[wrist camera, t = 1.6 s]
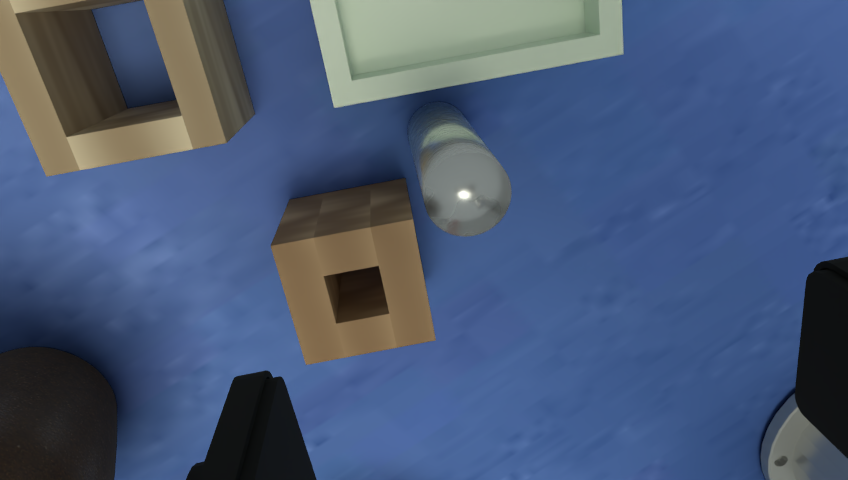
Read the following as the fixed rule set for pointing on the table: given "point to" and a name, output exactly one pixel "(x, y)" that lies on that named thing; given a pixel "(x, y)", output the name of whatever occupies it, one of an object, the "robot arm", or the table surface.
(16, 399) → the plant pot
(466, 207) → the cylinder
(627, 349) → the table surface
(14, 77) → the go block
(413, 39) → the tray
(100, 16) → the table surface
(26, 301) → the table surface
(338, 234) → the block
